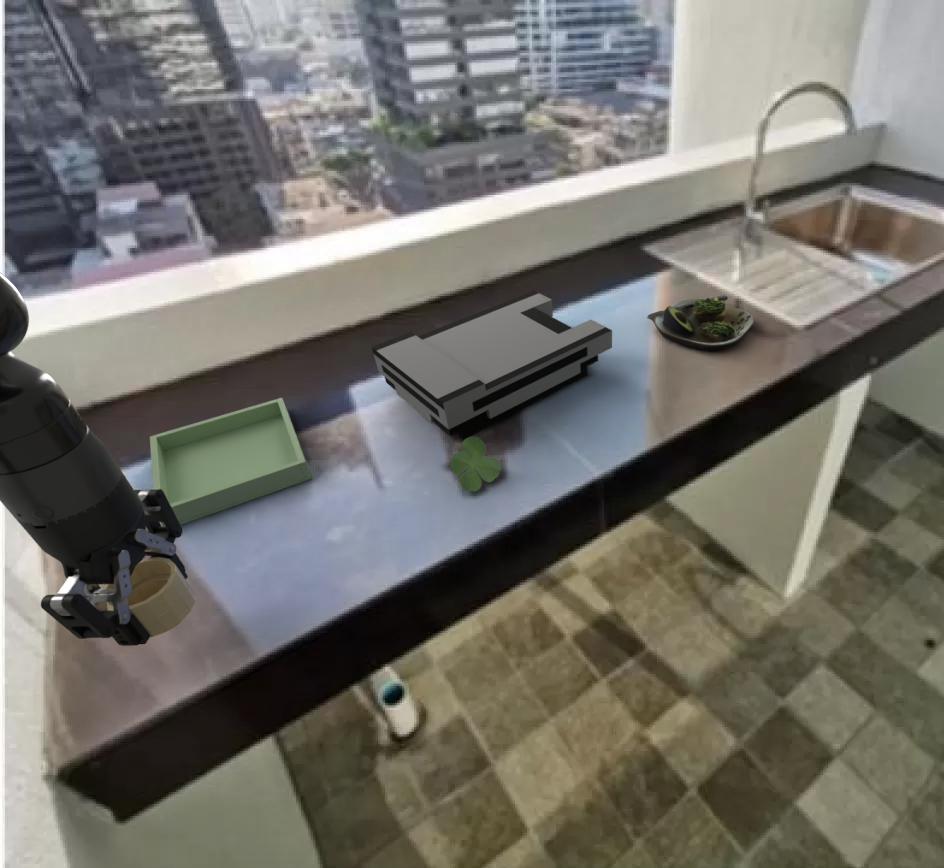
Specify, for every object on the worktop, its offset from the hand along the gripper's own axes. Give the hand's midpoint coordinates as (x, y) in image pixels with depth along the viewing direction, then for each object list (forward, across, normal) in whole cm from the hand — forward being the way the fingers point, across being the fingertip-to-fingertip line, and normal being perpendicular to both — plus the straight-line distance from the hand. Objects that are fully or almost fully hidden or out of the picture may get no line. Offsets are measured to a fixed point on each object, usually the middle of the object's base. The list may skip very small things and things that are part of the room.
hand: (158, 609), depth 60 cm
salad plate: (+4, -64, +65) cm, 91 cm away
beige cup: (+1, 0, 0) cm, 1 cm away
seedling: (+5, -24, +28) cm, 37 cm away
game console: (+5, -48, +29) cm, 56 cm away
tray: (+5, -28, -7) cm, 29 cm away
